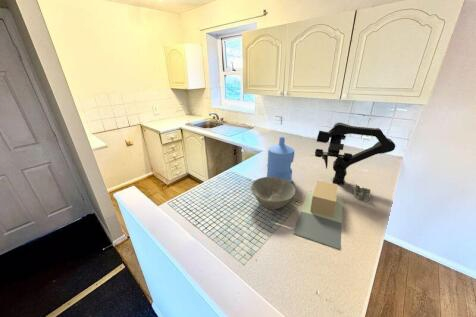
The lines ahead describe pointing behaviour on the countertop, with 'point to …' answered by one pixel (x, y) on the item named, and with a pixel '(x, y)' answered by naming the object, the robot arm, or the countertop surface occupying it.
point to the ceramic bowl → (273, 192)
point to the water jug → (280, 161)
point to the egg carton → (361, 194)
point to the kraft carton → (324, 198)
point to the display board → (320, 224)
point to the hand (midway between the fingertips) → (330, 169)
